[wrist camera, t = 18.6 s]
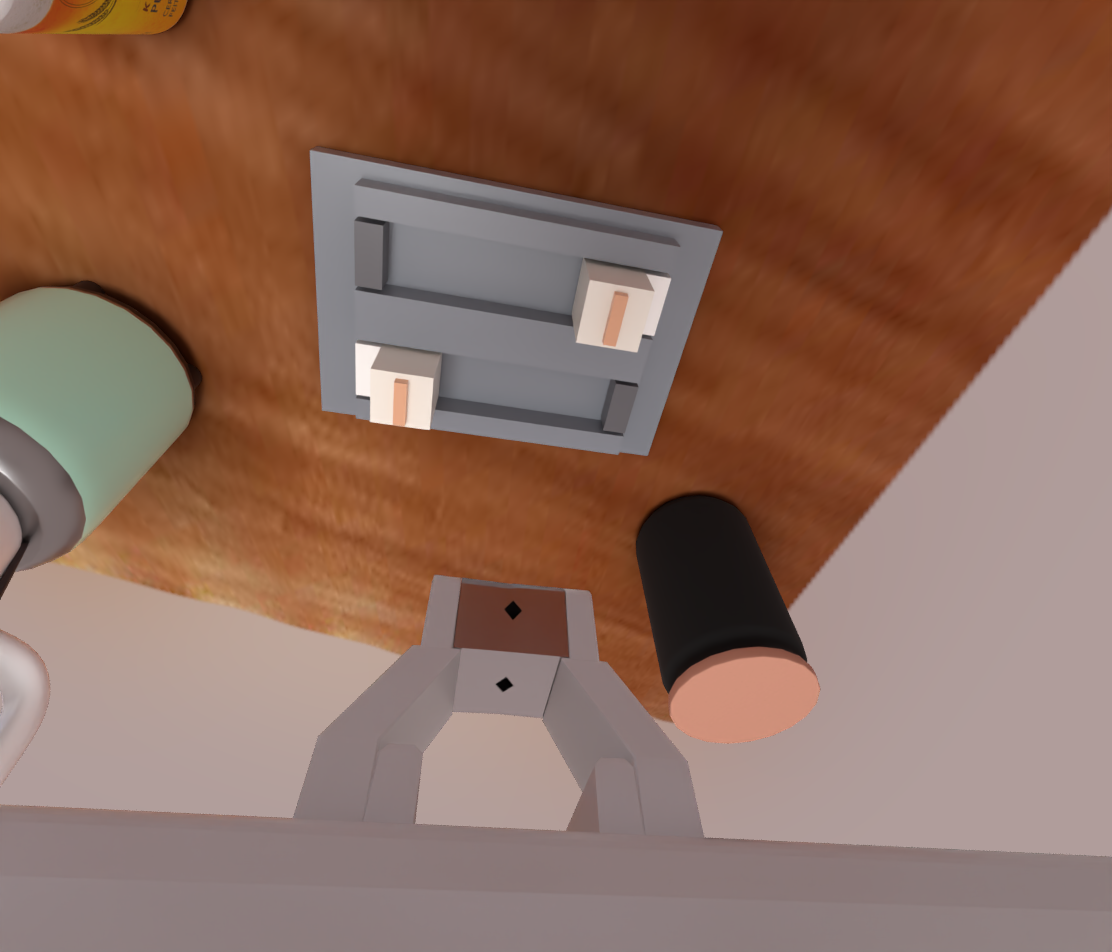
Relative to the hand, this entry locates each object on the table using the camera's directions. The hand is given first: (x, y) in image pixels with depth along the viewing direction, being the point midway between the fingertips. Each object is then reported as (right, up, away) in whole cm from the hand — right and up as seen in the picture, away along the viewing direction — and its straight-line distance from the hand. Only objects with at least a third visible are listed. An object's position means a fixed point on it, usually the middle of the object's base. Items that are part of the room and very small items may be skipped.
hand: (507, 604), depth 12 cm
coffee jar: (+14, -3, +45) cm, 47 cm away
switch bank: (-3, +14, +32) cm, 35 cm away
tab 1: (-10, +10, +32) cm, 35 cm away
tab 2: (+4, +15, +29) cm, 33 cm away
